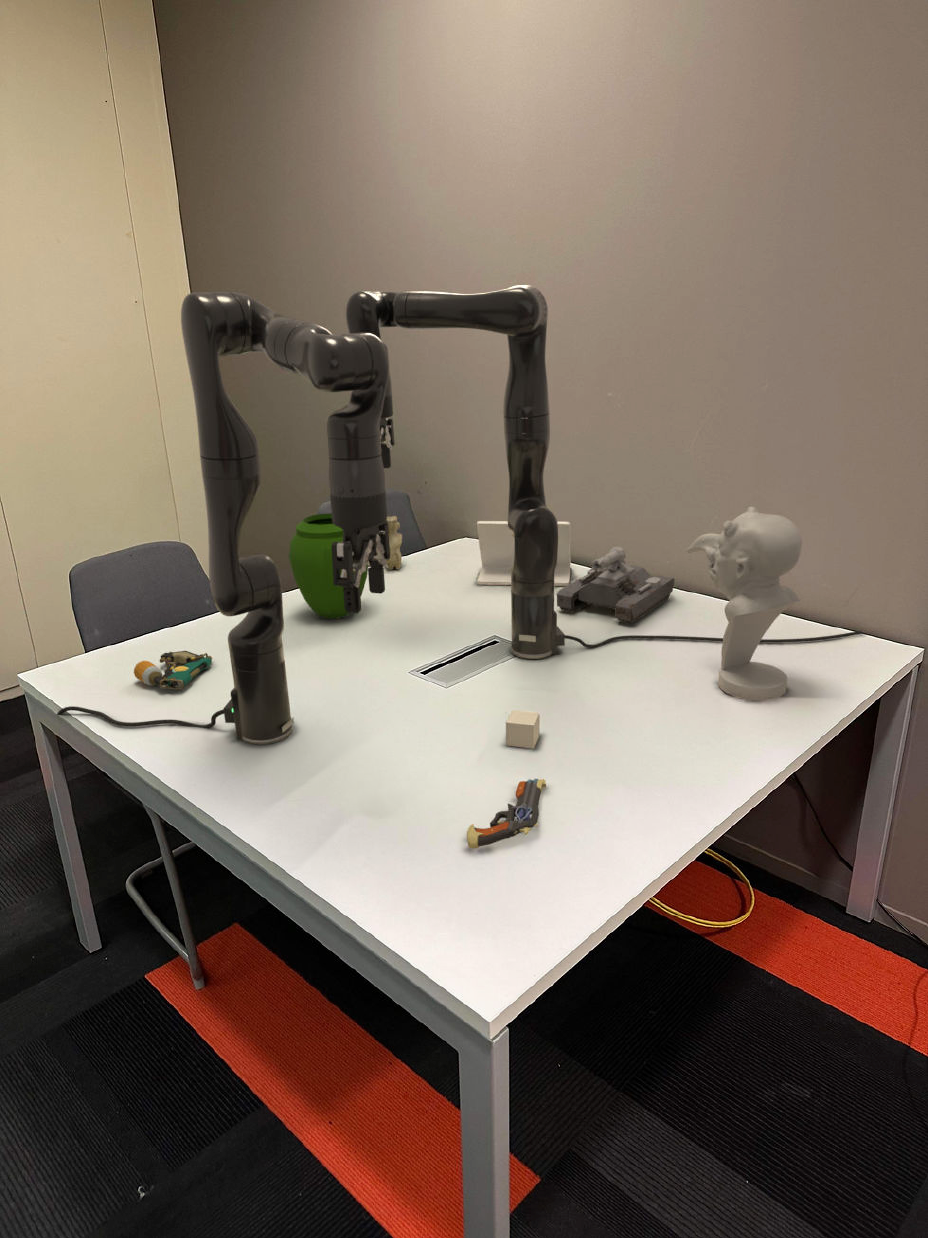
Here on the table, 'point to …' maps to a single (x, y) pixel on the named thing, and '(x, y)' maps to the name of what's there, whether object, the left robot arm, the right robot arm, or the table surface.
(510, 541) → the tablet stand
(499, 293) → the right robot arm
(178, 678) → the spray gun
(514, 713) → the beige cube
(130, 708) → the table surface
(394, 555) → the sculpture
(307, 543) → the vase
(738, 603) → the bust sculpture
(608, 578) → the toy
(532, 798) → the toy gun
